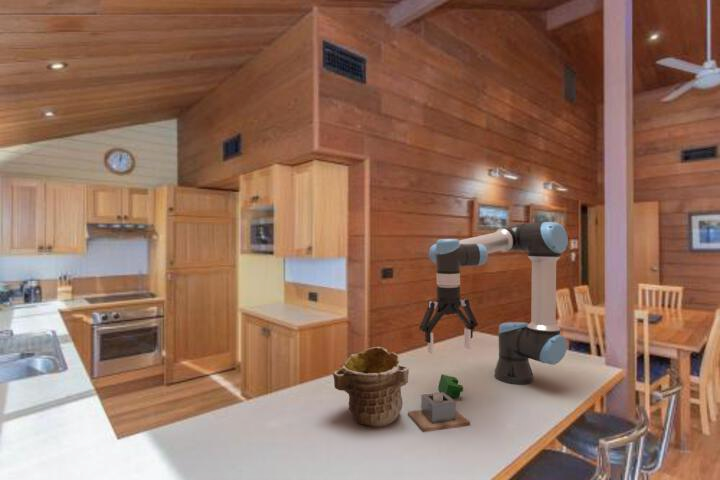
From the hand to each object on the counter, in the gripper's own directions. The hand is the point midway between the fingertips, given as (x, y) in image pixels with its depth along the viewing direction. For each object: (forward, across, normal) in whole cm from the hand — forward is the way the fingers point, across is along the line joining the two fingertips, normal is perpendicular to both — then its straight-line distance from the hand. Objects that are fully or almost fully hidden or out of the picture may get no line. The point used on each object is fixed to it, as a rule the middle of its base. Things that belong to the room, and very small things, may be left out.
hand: (449, 350), depth 129 cm
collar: (+20, +5, +2) cm, 21 cm away
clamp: (+22, -8, -15) cm, 28 cm away
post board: (+21, +6, +2) cm, 22 cm away
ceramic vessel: (+21, +26, -5) cm, 34 cm away
